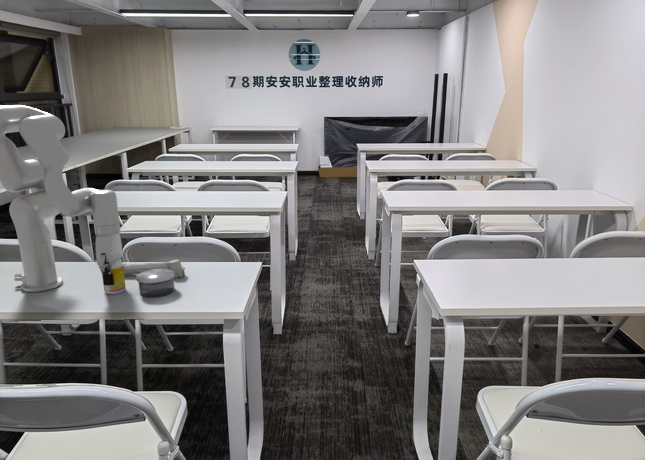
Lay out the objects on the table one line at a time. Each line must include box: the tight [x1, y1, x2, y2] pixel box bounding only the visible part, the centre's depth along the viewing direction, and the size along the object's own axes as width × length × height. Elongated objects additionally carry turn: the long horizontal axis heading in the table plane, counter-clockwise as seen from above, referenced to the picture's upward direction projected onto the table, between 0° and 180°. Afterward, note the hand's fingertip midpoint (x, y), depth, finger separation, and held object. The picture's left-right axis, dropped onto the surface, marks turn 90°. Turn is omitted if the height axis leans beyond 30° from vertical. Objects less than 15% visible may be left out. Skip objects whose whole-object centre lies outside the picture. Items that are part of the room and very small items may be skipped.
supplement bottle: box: [101, 257, 126, 295], centre depth 167 cm, size 7×7×13 cm
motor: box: [135, 269, 175, 299], centre depth 169 cm, size 12×13×6 cm
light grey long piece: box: [123, 259, 186, 279], centre depth 182 cm, size 5×7×25 cm
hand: (113, 280), depth 168 cm, fingers open, 7 cm apart
